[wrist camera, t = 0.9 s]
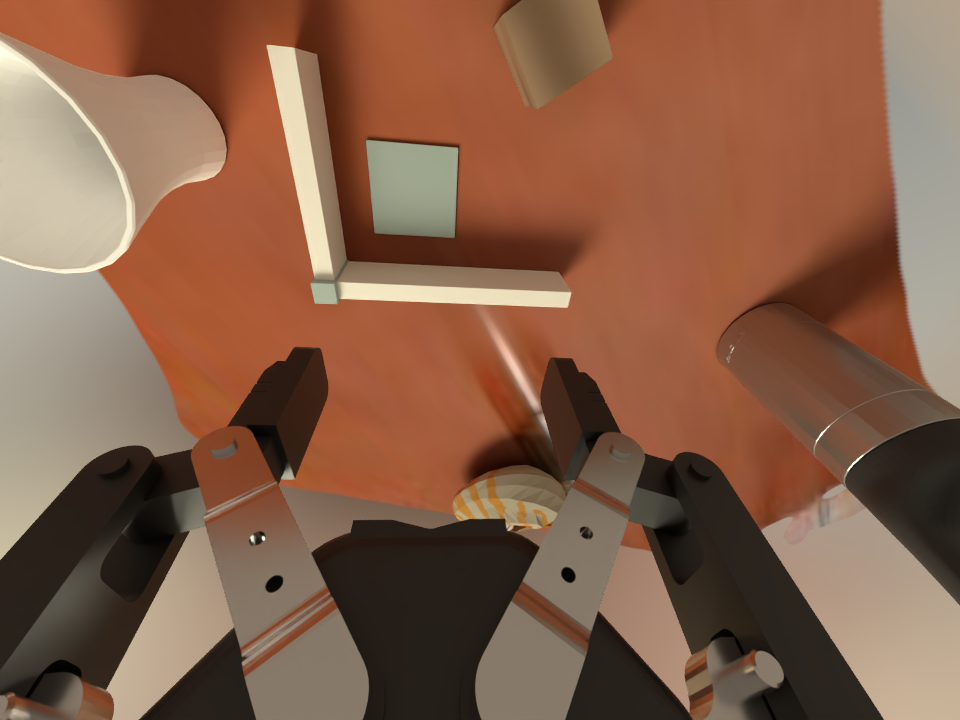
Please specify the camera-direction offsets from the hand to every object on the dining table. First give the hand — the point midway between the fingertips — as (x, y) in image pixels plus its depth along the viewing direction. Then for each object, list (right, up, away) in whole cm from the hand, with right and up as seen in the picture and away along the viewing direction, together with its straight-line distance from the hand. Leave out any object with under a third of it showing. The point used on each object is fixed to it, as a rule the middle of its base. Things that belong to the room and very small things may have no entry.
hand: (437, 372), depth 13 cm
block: (+6, +22, +12) cm, 26 cm away
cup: (-21, +17, +13) cm, 30 cm away
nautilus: (+8, -19, +43) cm, 48 cm away
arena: (-1, +15, +17) cm, 23 cm away
